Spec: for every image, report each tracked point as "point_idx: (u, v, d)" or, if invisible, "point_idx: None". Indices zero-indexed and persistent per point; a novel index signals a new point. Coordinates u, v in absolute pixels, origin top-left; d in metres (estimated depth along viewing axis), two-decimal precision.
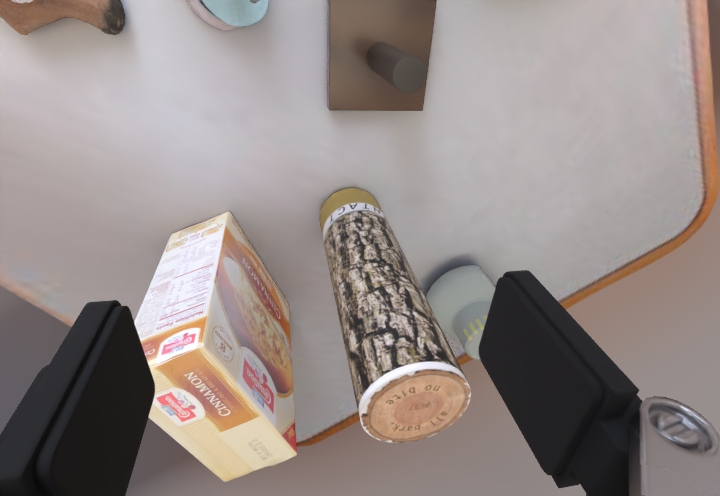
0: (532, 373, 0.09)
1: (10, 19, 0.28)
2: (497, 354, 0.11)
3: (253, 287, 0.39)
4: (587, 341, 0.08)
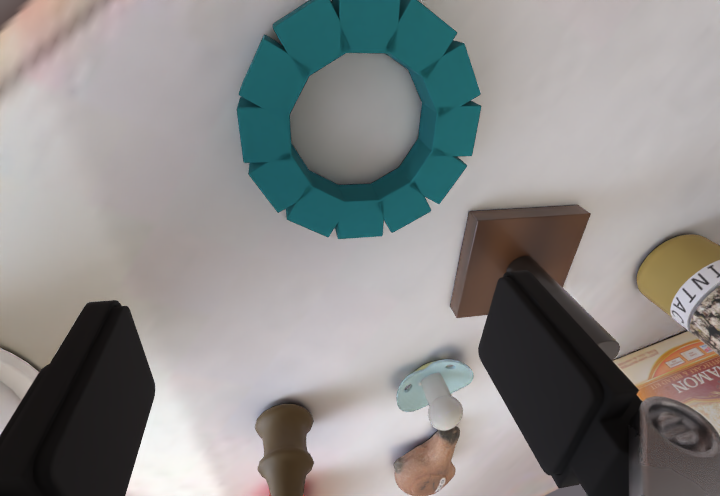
0: (532, 373, 0.09)
1: None
2: (497, 355, 0.11)
3: (716, 396, 0.36)
4: (587, 341, 0.08)
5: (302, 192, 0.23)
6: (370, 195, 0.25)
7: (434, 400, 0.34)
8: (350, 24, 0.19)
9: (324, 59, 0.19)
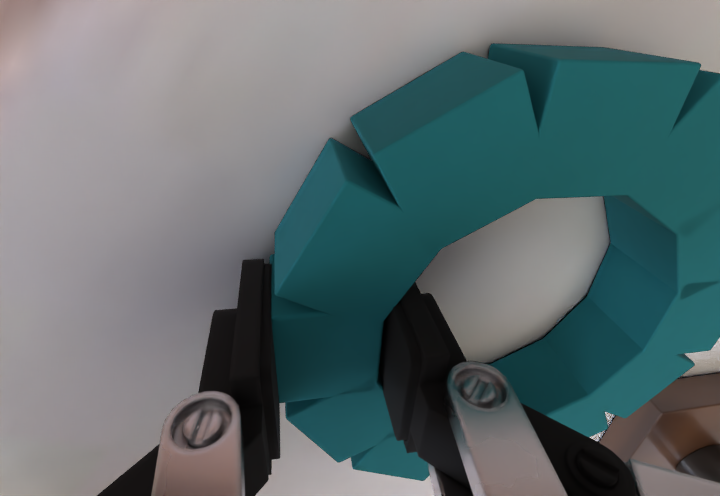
0: (388, 345, 0.10)
1: None
2: None
3: None
4: (422, 312, 0.09)
5: (389, 432, 0.12)
6: None
7: None
8: (563, 141, 0.07)
9: (482, 215, 0.08)
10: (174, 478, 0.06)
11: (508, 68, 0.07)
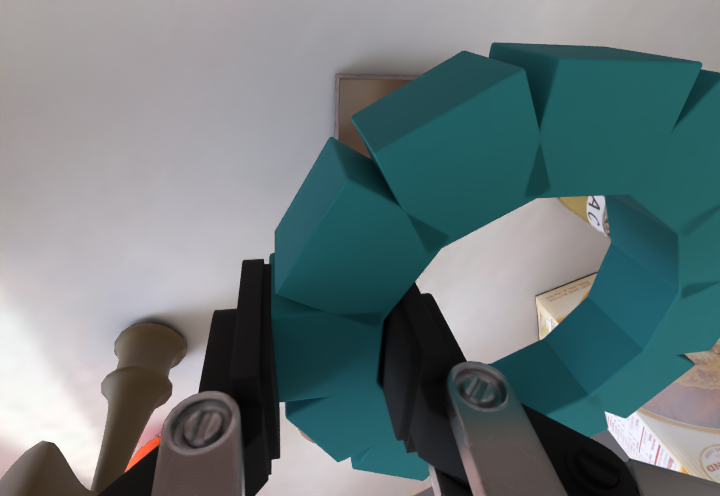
0: (388, 346, 0.10)
1: None
2: None
3: None
4: (422, 312, 0.09)
5: (389, 431, 0.12)
6: None
7: None
8: (564, 140, 0.07)
9: (483, 214, 0.08)
10: (174, 478, 0.06)
11: (509, 67, 0.07)
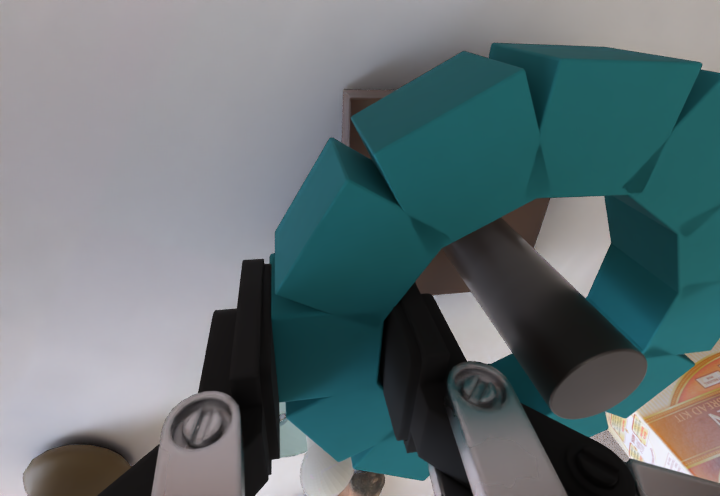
0: (388, 345, 0.10)
1: None
2: None
3: None
4: (423, 312, 0.09)
5: (389, 431, 0.12)
6: None
7: (313, 444, 0.20)
8: (564, 140, 0.07)
9: (483, 215, 0.08)
10: (174, 478, 0.06)
11: (509, 67, 0.07)
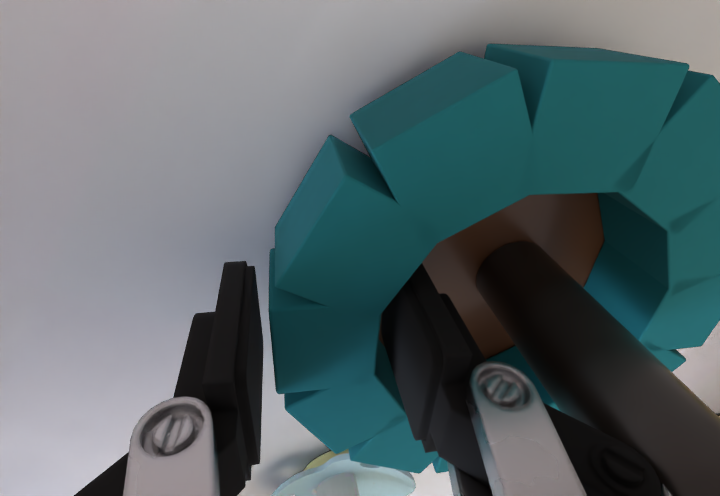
0: (405, 345, 0.10)
1: None
2: (389, 331, 0.11)
3: None
4: (442, 312, 0.09)
5: (386, 424, 0.12)
6: None
7: None
8: (555, 138, 0.08)
9: (478, 211, 0.08)
10: (145, 487, 0.06)
11: (503, 67, 0.07)
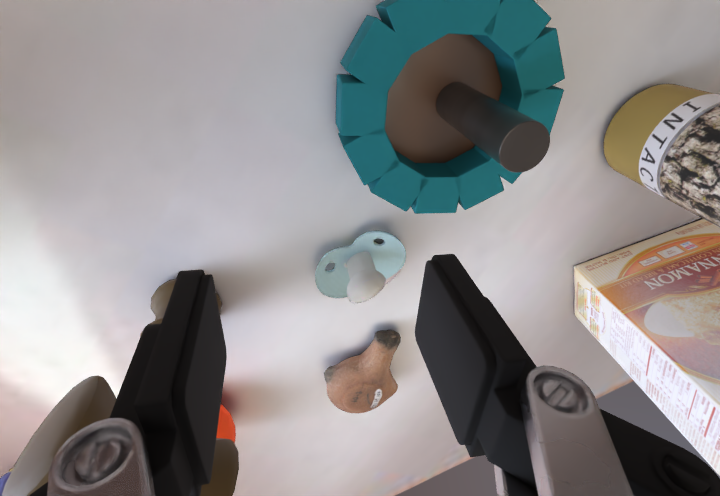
0: (449, 349, 0.10)
1: (389, 396, 0.38)
2: (427, 335, 0.11)
3: (694, 290, 0.31)
4: (491, 316, 0.09)
5: (389, 166, 0.24)
6: (448, 173, 0.26)
7: (355, 274, 0.29)
8: (455, 6, 0.20)
9: (427, 39, 0.21)
10: None
11: None
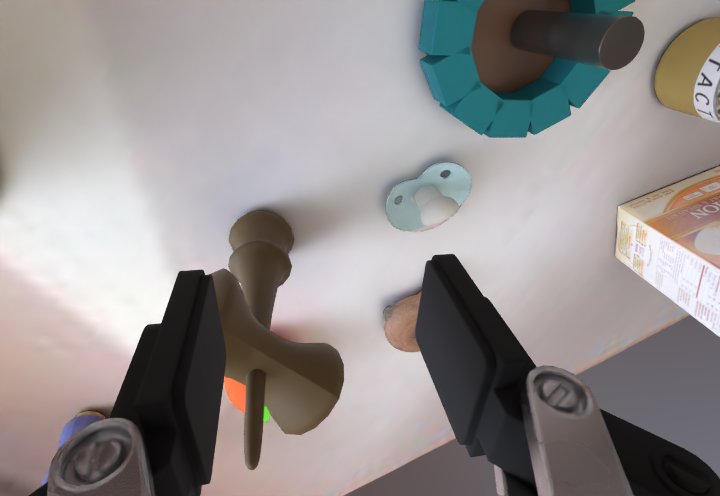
0: (449, 349, 0.10)
1: None
2: (427, 335, 0.11)
3: None
4: (491, 316, 0.09)
5: (471, 87, 0.26)
6: (521, 97, 0.28)
7: (427, 201, 0.31)
8: None
9: None
10: None
11: None
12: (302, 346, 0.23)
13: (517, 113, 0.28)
